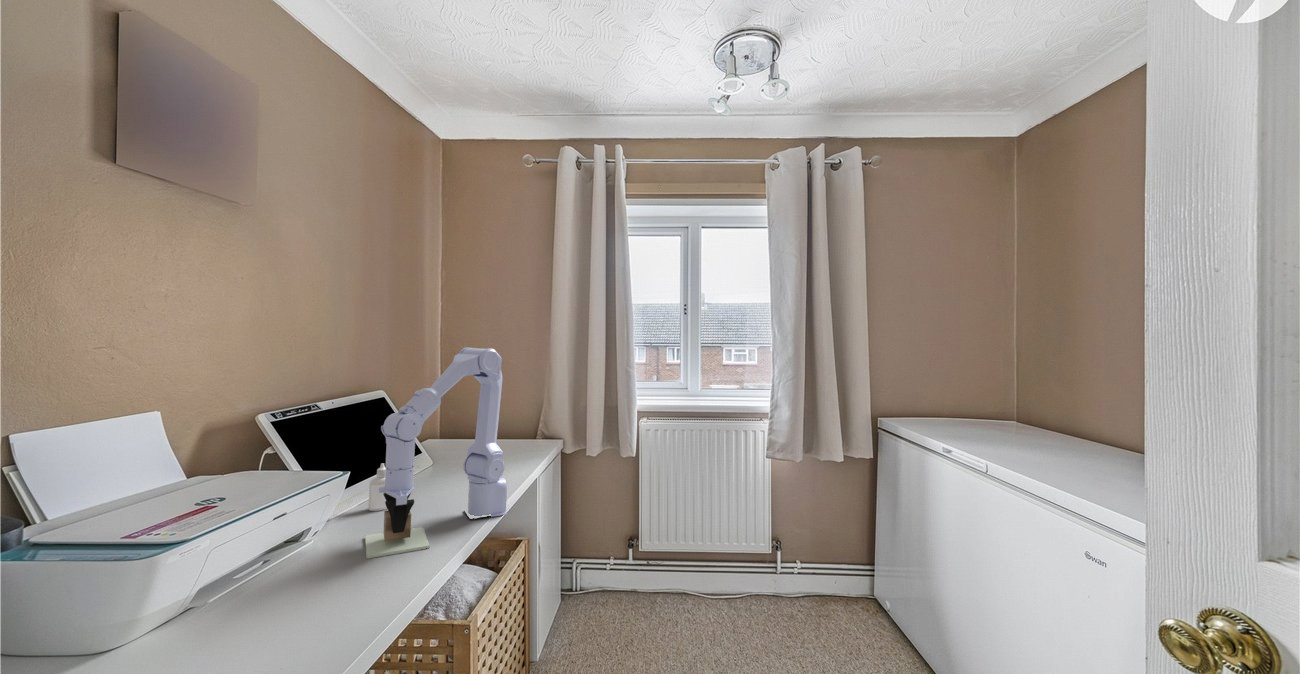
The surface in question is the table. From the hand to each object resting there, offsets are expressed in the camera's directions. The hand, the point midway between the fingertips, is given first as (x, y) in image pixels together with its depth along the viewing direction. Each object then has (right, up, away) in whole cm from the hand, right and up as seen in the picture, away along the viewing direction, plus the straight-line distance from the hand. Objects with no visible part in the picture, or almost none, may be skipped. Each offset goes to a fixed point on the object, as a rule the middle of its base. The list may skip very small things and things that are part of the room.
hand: (397, 527), depth 111 cm
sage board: (0, -3, 0) cm, 3 cm away
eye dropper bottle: (-15, -3, +21) cm, 26 cm away
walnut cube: (0, -2, 0) cm, 2 cm away
